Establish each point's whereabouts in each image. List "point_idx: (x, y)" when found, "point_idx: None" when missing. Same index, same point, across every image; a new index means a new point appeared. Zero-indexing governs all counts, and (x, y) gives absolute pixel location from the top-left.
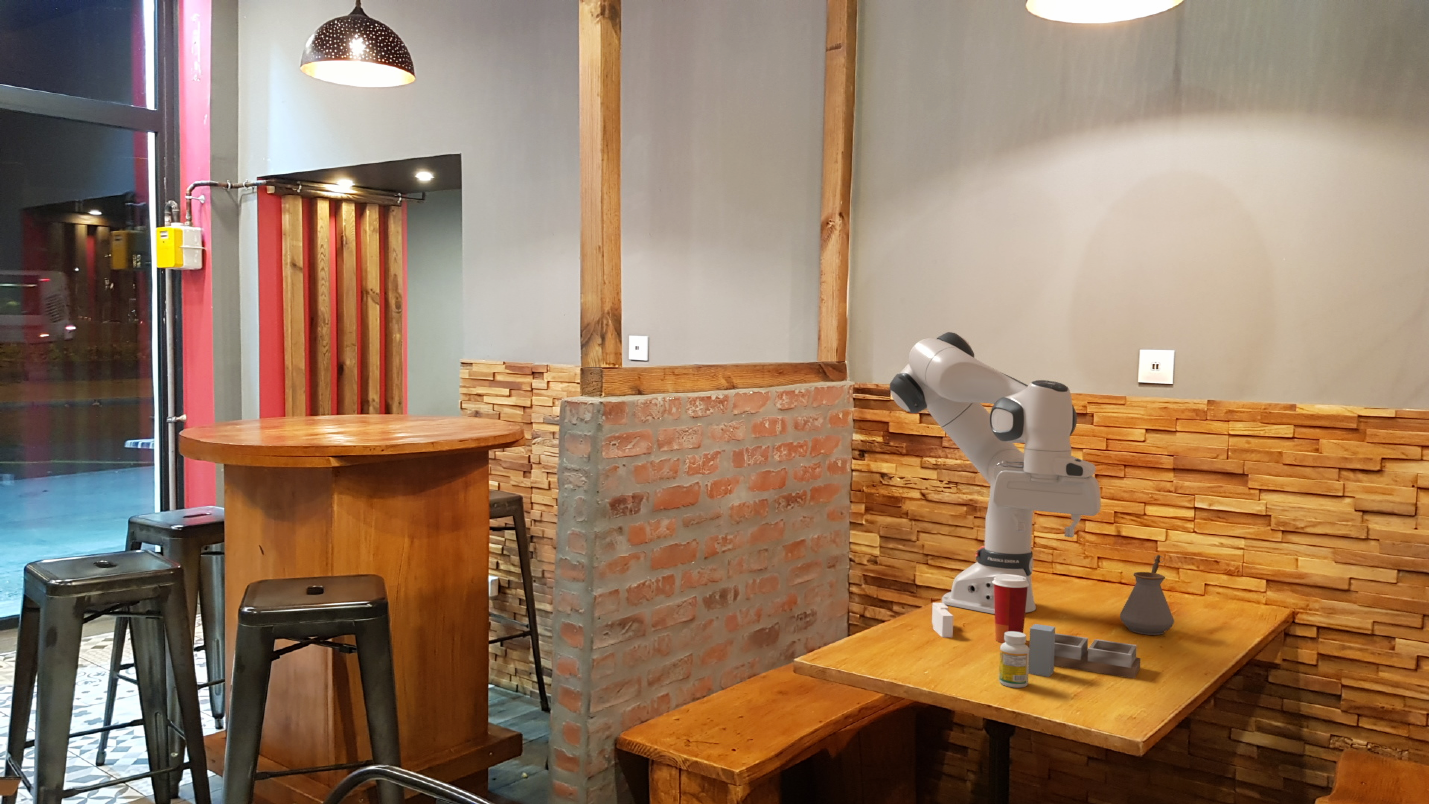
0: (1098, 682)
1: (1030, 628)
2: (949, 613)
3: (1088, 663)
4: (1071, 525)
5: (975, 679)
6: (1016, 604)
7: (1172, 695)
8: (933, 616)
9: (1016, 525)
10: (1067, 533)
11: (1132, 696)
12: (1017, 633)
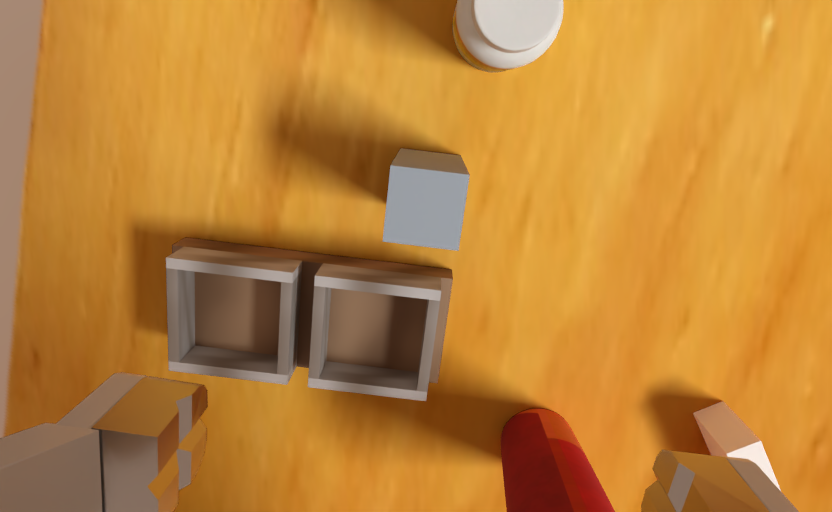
0: (268, 159)
1: (467, 174)
2: None
3: (301, 258)
4: (38, 446)
5: (609, 18)
6: (539, 488)
7: (73, 128)
8: None
9: (777, 499)
10: (155, 390)
11: (165, 66)
12: (510, 22)
